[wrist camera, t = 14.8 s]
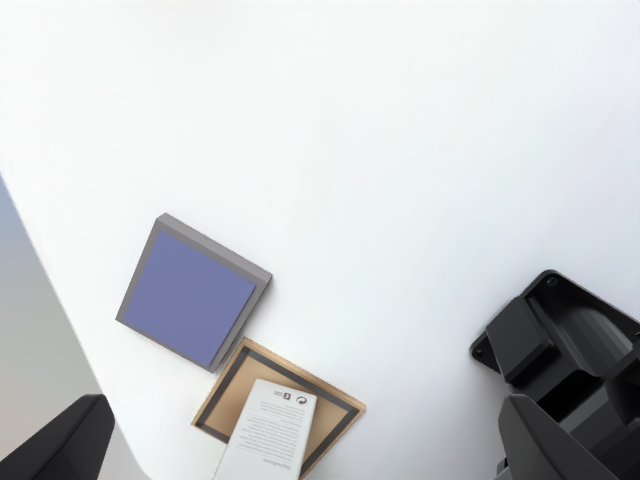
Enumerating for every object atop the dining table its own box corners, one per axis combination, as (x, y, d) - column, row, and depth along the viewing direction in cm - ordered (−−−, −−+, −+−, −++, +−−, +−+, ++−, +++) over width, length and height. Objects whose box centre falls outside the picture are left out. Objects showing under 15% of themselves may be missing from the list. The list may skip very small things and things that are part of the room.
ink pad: (272, 274, 23) (266, 284, 22) (218, 363, 27) (211, 375, 26) (165, 212, 23) (154, 219, 22) (124, 310, 26) (113, 321, 25)
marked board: (365, 405, 26) (365, 410, 26) (300, 478, 30) (298, 484, 29) (244, 336, 26) (241, 341, 25) (193, 420, 29) (189, 425, 29)
